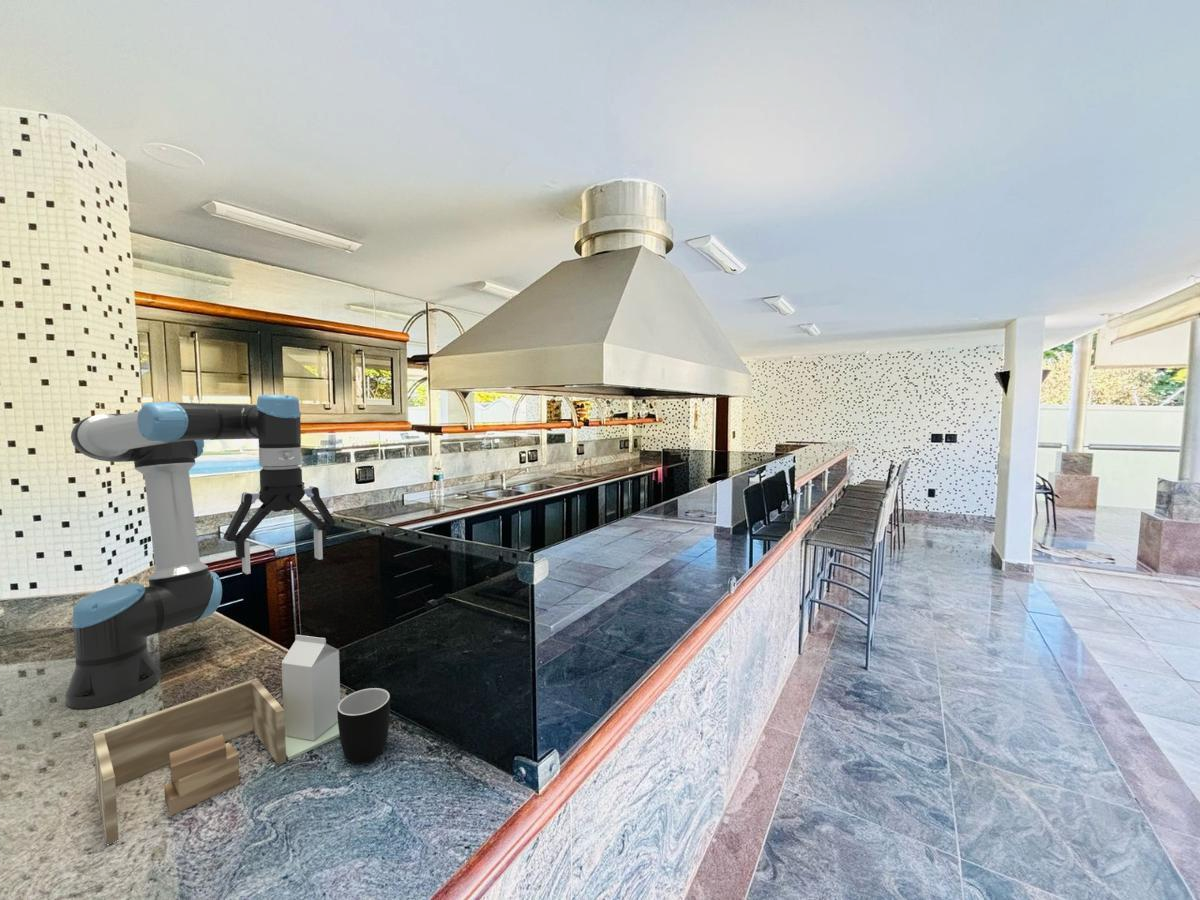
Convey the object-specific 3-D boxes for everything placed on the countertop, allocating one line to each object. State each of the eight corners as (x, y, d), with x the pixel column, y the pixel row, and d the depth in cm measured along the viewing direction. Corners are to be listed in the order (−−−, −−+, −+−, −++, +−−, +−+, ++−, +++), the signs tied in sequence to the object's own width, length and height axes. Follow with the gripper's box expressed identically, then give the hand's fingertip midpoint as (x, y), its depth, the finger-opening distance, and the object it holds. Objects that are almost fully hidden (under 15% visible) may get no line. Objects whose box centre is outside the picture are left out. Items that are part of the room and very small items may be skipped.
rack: (96, 790, 82) (93, 733, 81) (258, 724, 100) (256, 678, 99) (107, 846, 71) (103, 781, 71) (286, 761, 89) (284, 709, 88)
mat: (267, 733, 97) (267, 730, 97) (331, 706, 106) (331, 703, 106) (288, 760, 89) (288, 757, 89) (355, 729, 98) (355, 726, 98)
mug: (401, 746, 93) (400, 696, 93) (357, 775, 86) (356, 721, 85) (362, 726, 99) (361, 679, 99) (319, 752, 92) (317, 700, 91)
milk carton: (314, 741, 94) (311, 646, 92) (283, 736, 95) (280, 642, 94) (341, 719, 101) (338, 631, 99) (312, 714, 102) (309, 627, 101)
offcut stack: (164, 799, 80) (162, 755, 80) (232, 769, 87) (230, 728, 87) (171, 817, 76) (168, 771, 76) (241, 783, 84) (239, 741, 83)
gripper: (211, 473, 91) (216, 583, 92) (349, 464, 110) (351, 556, 111) (202, 470, 96) (207, 575, 97) (335, 462, 115) (338, 550, 116)
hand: (284, 565), depth 104 cm, fingers open, 13 cm apart
